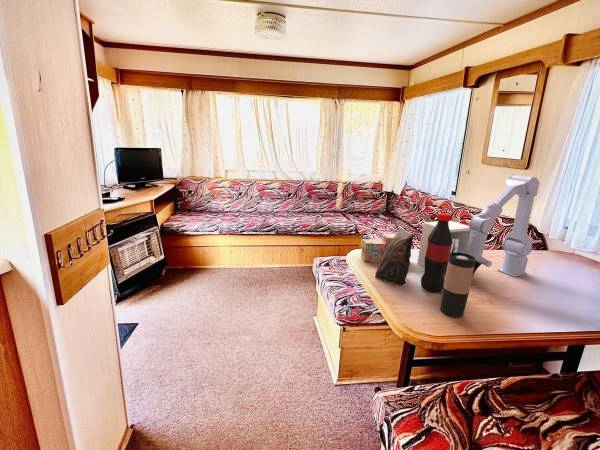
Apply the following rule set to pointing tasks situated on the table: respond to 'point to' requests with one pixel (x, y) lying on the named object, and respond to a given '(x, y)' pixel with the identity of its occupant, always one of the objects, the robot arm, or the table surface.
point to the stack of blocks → (375, 248)
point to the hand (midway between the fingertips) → (469, 276)
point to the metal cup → (454, 244)
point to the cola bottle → (437, 255)
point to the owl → (396, 259)
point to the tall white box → (455, 230)
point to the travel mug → (457, 284)
